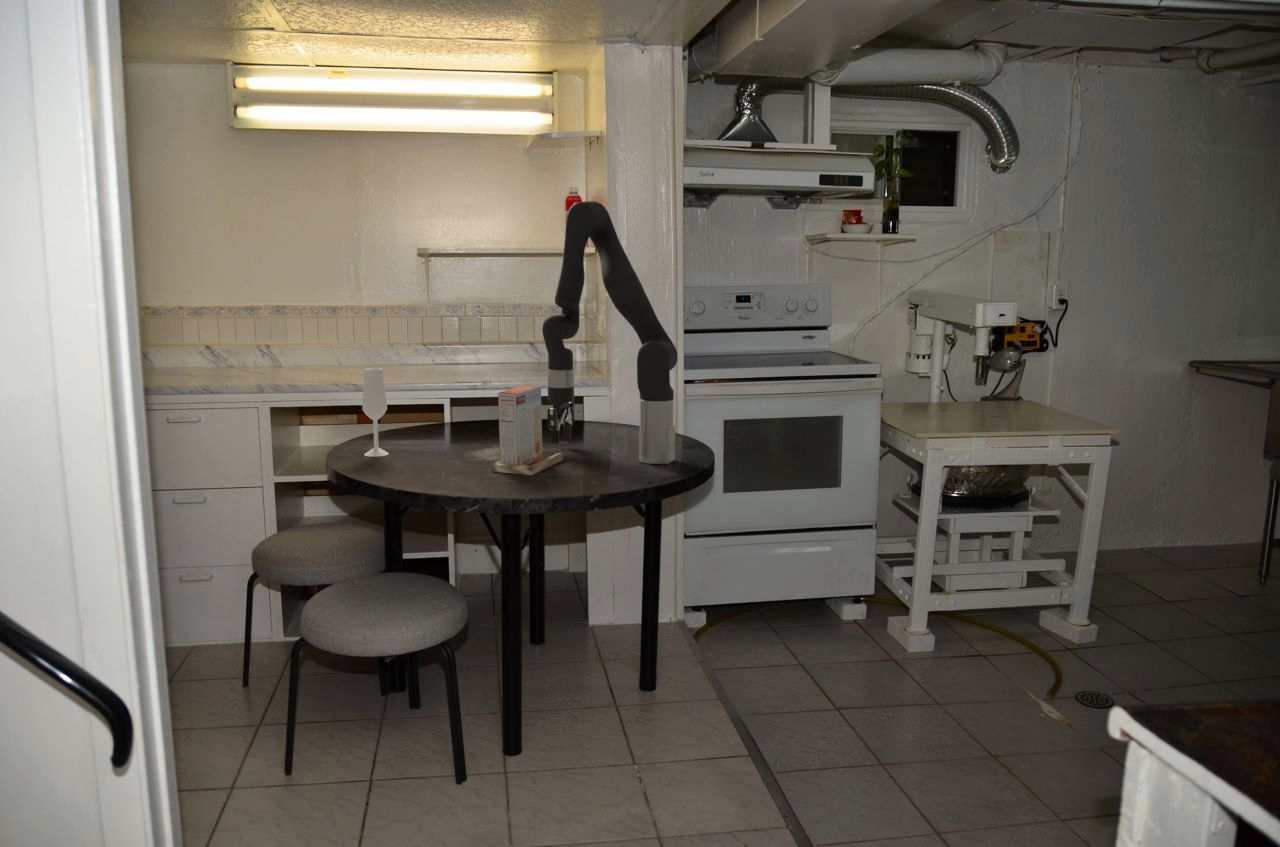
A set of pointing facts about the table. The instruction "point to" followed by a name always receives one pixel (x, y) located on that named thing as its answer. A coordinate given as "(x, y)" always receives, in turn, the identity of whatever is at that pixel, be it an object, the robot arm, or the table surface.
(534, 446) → the cracker box
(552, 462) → the outline frame
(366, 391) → the champagne flute
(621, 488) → the table surface
